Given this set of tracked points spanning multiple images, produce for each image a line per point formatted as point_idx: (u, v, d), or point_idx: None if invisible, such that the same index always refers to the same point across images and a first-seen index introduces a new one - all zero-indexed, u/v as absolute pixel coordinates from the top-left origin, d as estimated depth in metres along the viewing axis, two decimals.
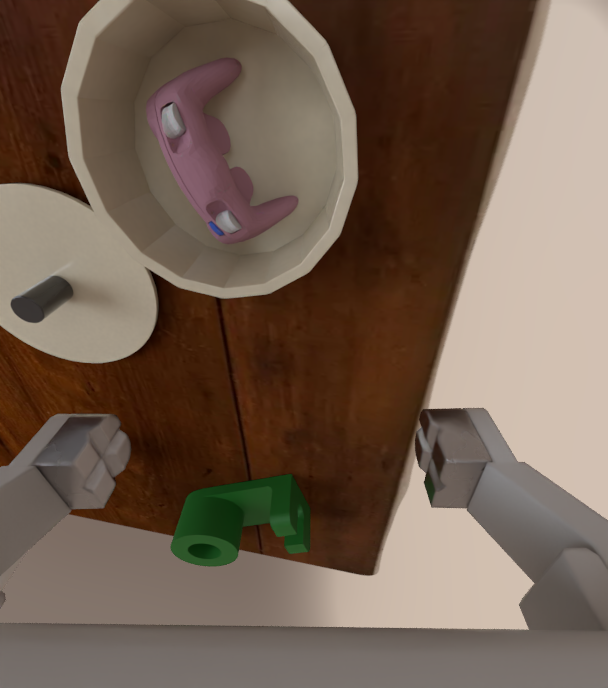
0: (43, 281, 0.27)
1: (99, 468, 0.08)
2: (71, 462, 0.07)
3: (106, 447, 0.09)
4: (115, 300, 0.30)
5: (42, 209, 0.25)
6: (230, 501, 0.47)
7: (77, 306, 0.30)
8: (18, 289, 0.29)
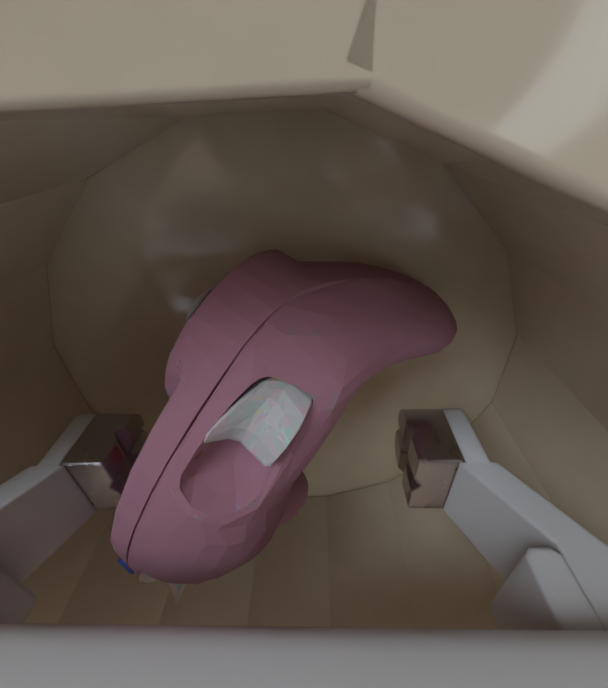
0: None
1: (124, 468, 0.08)
2: (100, 462, 0.07)
3: (130, 447, 0.09)
4: None
5: None
6: None
7: None
8: None
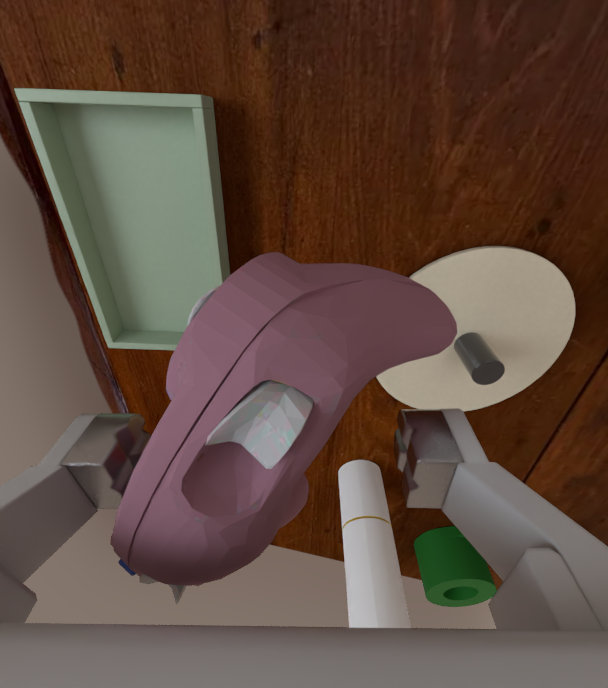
0: (478, 340, 0.27)
1: (125, 468, 0.08)
2: (101, 462, 0.07)
3: (132, 447, 0.09)
4: (516, 356, 0.29)
5: (514, 272, 0.25)
6: None
7: None
8: None
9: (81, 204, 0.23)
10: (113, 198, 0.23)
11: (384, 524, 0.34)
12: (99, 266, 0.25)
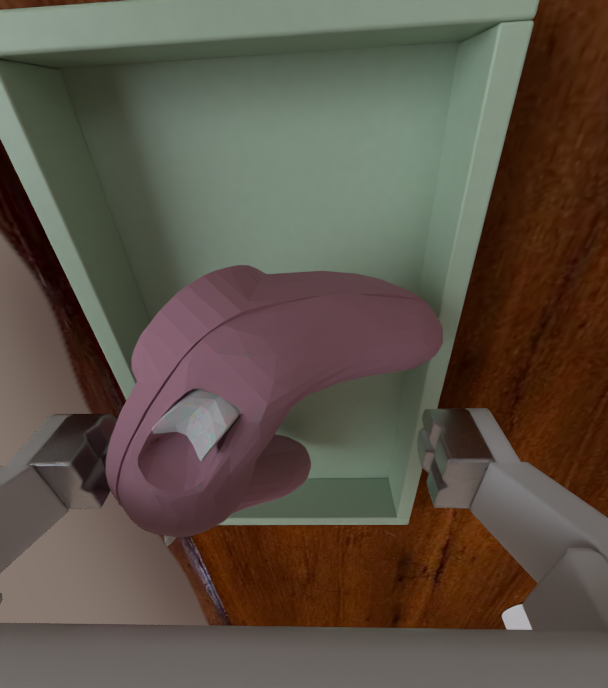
0: None
1: (96, 468, 0.08)
2: (68, 462, 0.07)
3: (103, 447, 0.09)
4: None
5: None
6: None
7: None
8: None
9: (136, 297, 0.11)
10: None
11: None
12: None
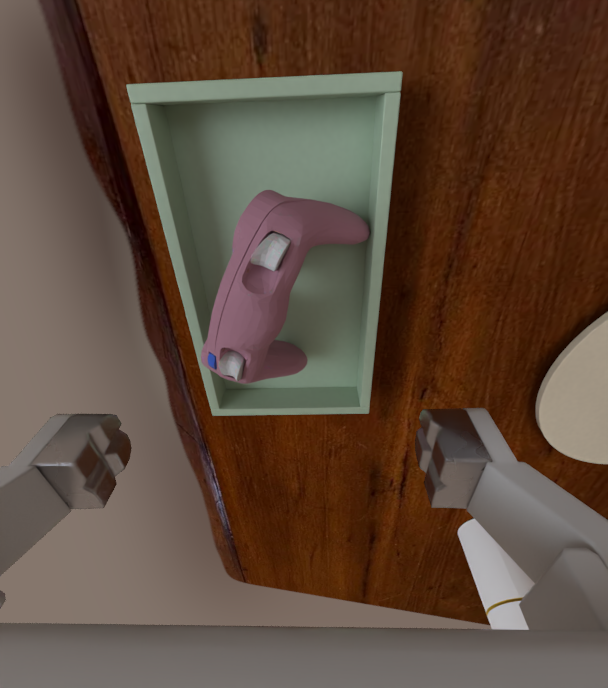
0: None
1: (99, 468, 0.08)
2: (71, 462, 0.07)
3: (106, 447, 0.09)
4: None
5: None
6: None
7: None
8: None
9: (191, 240, 0.17)
10: (233, 229, 0.17)
11: None
12: (207, 317, 0.19)
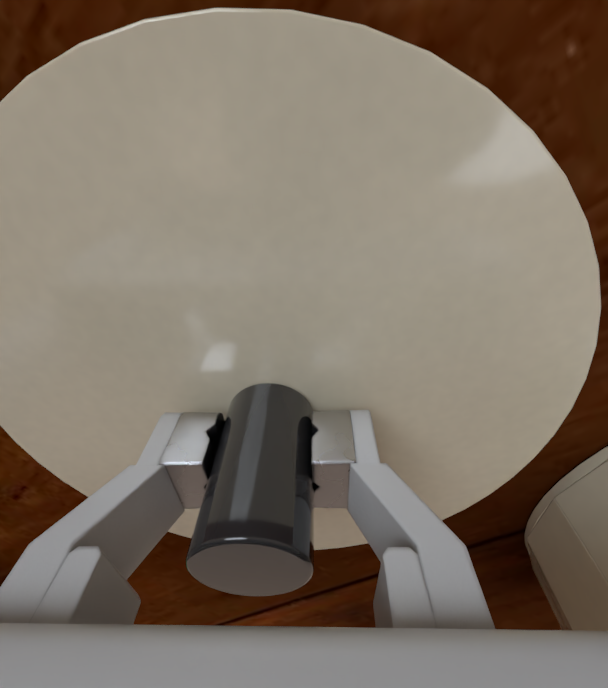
0: (302, 431, 0.08)
1: None
2: (200, 461, 0.07)
3: (216, 446, 0.08)
4: None
5: (522, 322, 0.08)
6: None
7: None
8: (160, 332, 0.08)
9: None
10: None
11: None
12: None
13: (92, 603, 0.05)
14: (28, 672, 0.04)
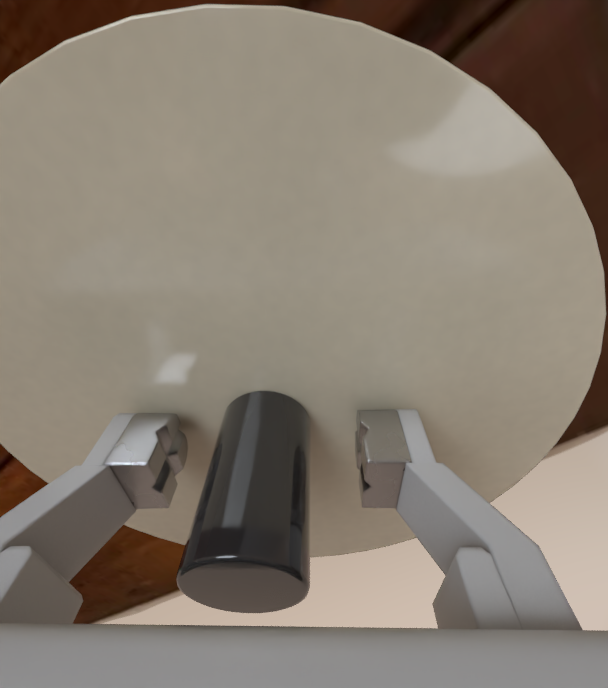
0: (298, 441, 0.08)
1: (164, 467, 0.08)
2: (144, 462, 0.07)
3: (169, 446, 0.08)
4: (333, 506, 0.12)
5: (524, 329, 0.07)
6: None
7: None
8: (153, 339, 0.08)
9: None
10: None
11: None
12: None
13: (19, 602, 0.05)
14: (28, 672, 0.04)
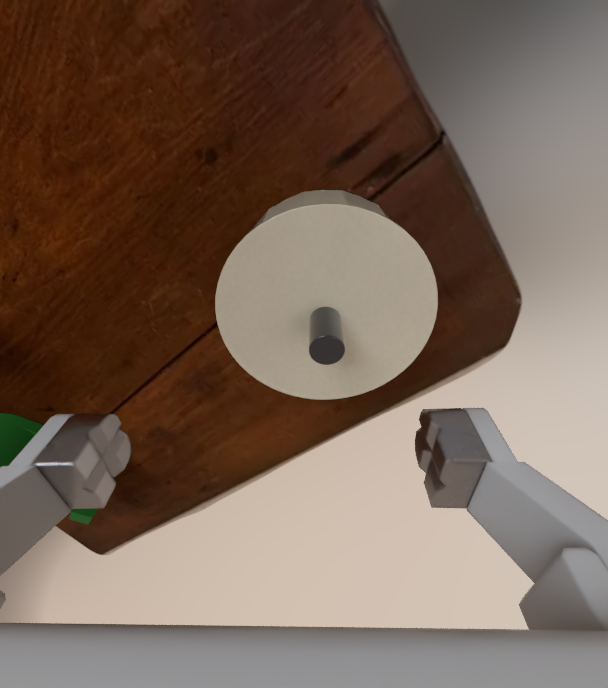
0: (338, 320, 0.24)
1: (99, 468, 0.08)
2: (71, 462, 0.07)
3: (106, 447, 0.09)
4: (348, 364, 0.28)
5: (411, 283, 0.23)
6: None
7: None
8: (291, 287, 0.24)
9: None
10: None
11: None
12: None
13: None
14: (28, 672, 0.04)
